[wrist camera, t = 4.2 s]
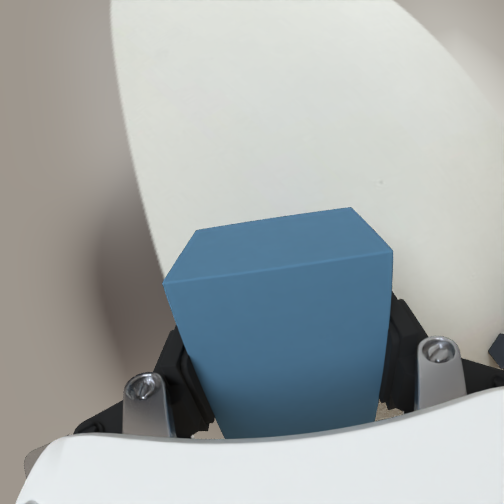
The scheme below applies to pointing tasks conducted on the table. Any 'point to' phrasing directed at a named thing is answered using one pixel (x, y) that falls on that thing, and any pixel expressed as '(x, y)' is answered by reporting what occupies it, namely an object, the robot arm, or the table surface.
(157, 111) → the table surface
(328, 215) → the blue rectangular block
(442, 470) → the robot arm
